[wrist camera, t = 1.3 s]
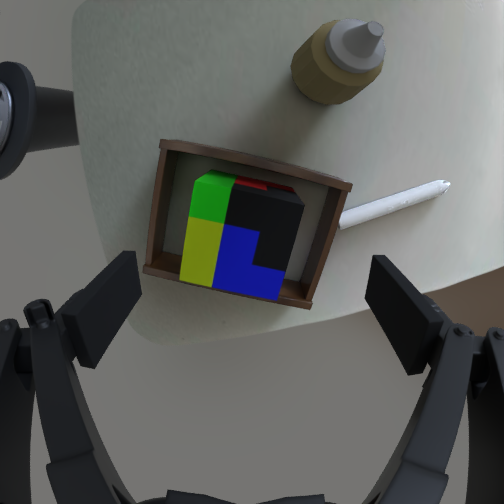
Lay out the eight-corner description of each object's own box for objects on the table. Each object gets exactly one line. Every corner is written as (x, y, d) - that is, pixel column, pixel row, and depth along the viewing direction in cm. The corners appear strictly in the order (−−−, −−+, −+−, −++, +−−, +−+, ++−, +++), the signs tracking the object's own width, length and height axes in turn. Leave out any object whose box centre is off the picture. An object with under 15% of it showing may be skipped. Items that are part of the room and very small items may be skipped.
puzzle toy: (272, 261, 39) (276, 300, 30) (197, 245, 38) (179, 279, 29) (292, 187, 35) (304, 205, 26) (211, 169, 35) (194, 180, 25)
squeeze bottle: (273, 72, 30) (288, 12, 13) (321, 37, 28) (371, -32, 11) (318, 121, 32) (375, 106, 15) (364, 85, 30) (446, 53, 13)
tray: (155, 255, 39) (142, 273, 34) (174, 138, 33) (160, 138, 28) (304, 288, 40) (310, 310, 35) (339, 177, 35) (353, 184, 30)
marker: (445, 175, 34) (454, 177, 32) (447, 189, 34) (456, 192, 32) (333, 212, 36) (338, 217, 34) (337, 227, 37) (342, 233, 35)
